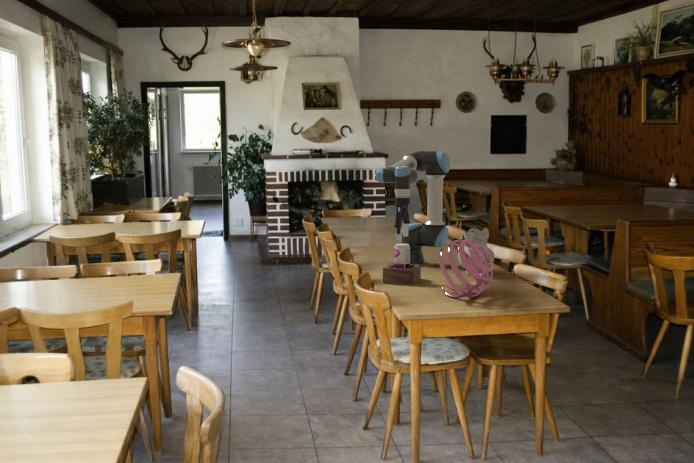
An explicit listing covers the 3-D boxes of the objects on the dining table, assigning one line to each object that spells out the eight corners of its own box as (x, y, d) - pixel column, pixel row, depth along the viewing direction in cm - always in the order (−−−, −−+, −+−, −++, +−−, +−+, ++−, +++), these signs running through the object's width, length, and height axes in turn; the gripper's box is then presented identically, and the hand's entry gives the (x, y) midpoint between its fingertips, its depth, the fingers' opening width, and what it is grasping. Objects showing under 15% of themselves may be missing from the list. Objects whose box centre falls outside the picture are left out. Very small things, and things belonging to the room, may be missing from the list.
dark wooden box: (391, 276, 404) (391, 262, 403) (420, 278, 399) (420, 264, 398) (382, 282, 389) (382, 268, 388) (413, 284, 384) (413, 270, 383)
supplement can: (397, 275, 388) (397, 246, 386) (391, 272, 396) (392, 243, 394) (412, 274, 391) (412, 245, 388) (406, 271, 398) (406, 242, 396)
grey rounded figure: (492, 280, 400) (497, 233, 397) (454, 275, 404) (459, 229, 400) (492, 272, 421) (497, 227, 418) (457, 268, 425) (461, 224, 421)
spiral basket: (413, 253, 361) (456, 225, 346) (449, 260, 381) (491, 233, 366) (432, 307, 349) (477, 280, 334) (467, 310, 369) (512, 285, 354)
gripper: (401, 194, 401) (401, 234, 404) (388, 199, 377) (388, 241, 380) (415, 194, 398) (415, 234, 401) (403, 199, 375) (403, 242, 378)
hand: (402, 238), depth 391 cm, fingers open, 13 cm apart
